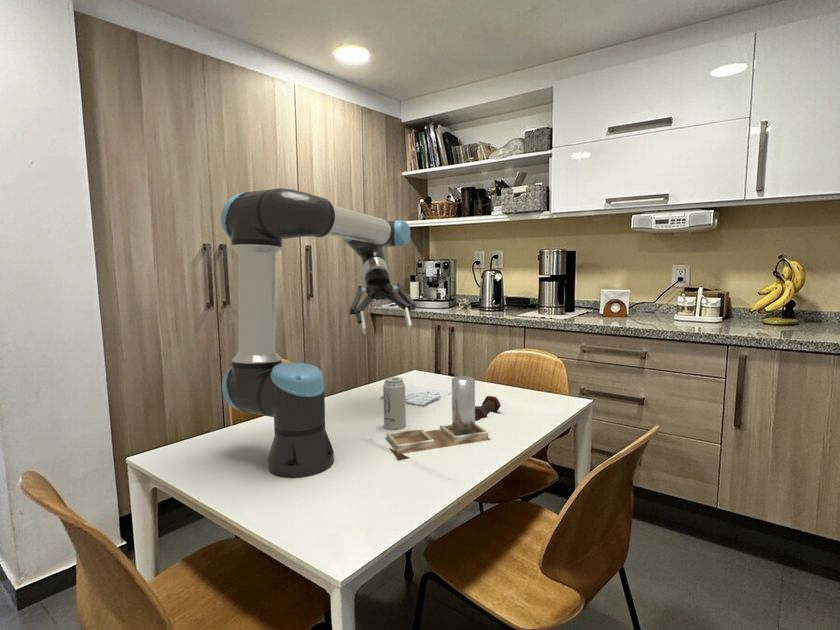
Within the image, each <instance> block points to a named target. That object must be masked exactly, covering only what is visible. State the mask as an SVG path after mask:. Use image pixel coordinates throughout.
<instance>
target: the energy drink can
mask: <svg viewBox="0 0 840 630" xmlns="http://www.w3.org/2000/svg"><path fill="white" fill-rule="evenodd" d="M384 380H385V382H384V383H383V386H382V387H383V388H382V389H383V390H382V391H383V392H382V393H383V396H384V399H383V424H384V425H383V426H384V427H383V428H384V429H385V430H387V431H402V430H403V429H405V428H406V427H407V424H406V423H407V421H406V420H407V417H406V409H407V408H406V404H405V388H406V385H405V383H404V381H403V378H402V377H397V376H391V377H386V378H385V379H384Z"/></svg>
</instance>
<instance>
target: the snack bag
mask: <svg viewBox="0 0 840 630" xmlns="http://www.w3.org/2000/svg"><path fill="white" fill-rule="evenodd" d="M450 393H451V394H452V391H447V390H441V389H435V388H429V387H424V386H419V385H414V384H410V385H409V386H406V387H405V403H407V404H406V405H409V404H412V405H411V406H415V405H418V406H417V407H420V406H423V407H425V406H427V405H428V404H432V403H434V402H436V401H438V400H442V397H443V398H445V397H447V396H449V395H451V394H450ZM446 395H447V396H446ZM444 396H445V397H444ZM379 398H380V400H384V396H383V395H380V397H379ZM435 400H436V401H435ZM433 401H434V402H433Z"/></svg>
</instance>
